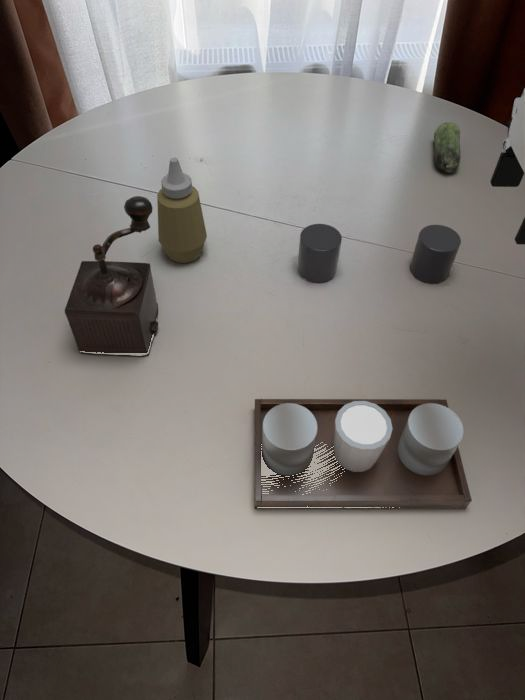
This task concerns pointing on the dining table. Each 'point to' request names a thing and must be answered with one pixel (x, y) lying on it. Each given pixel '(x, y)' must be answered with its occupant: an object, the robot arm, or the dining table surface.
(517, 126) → the robot arm
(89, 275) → the manual coffee grinder
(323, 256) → the grey cylinders
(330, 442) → the tray
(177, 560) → the dining table surface
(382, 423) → the white cup
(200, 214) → the squeeze bottle
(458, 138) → the vegetable
